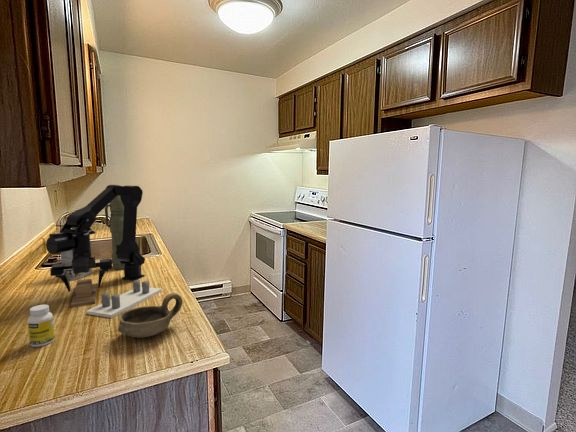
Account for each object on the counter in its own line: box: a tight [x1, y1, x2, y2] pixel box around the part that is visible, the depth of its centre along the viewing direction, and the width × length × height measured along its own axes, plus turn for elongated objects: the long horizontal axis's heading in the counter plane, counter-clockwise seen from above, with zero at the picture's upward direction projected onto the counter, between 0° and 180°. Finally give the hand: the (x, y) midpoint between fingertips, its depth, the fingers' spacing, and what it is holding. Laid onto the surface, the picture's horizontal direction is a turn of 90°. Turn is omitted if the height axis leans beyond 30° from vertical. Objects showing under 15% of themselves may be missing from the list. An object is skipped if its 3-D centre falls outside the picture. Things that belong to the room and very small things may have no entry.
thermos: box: [104, 195, 125, 271], centre depth 152 cm, size 9×12×35 cm
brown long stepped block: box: [70, 278, 98, 308], centre depth 119 cm, size 20×7×6 cm, turn 29°
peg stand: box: [85, 279, 163, 319], centre depth 114 cm, size 24×10×5 cm, turn 164°
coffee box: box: [60, 250, 93, 281], centre depth 139 cm, size 9×6×16 cm
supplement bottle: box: [27, 304, 56, 348], centre depth 86 cm, size 5×5×10 cm
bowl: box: [117, 292, 183, 338], centre depth 92 cm, size 14×18×10 cm
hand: (84, 289), depth 119 cm, fingers open, 9 cm apart
